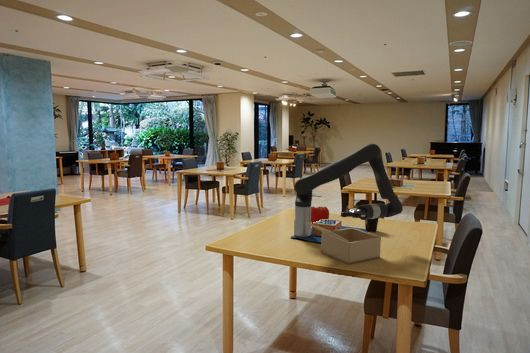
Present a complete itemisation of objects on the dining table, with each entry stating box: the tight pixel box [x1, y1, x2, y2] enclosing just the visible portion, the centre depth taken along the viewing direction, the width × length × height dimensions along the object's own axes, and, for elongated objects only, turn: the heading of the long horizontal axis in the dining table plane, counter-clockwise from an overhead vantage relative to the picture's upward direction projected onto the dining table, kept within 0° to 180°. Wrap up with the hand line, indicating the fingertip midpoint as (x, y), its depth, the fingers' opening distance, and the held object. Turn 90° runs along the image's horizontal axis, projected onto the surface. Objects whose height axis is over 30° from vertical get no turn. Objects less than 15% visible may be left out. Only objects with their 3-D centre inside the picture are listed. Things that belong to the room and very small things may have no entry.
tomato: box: [311, 206, 330, 224], centre depth 252 cm, size 13×14×12 cm
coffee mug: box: [364, 217, 380, 233], centre depth 239 cm, size 12×9×10 cm
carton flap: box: [306, 222, 349, 242], centre depth 183 cm, size 1×19×12 cm
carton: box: [320, 227, 382, 265], centre depth 191 cm, size 20×21×10 cm
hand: (341, 214), depth 187 cm, fingers closed
